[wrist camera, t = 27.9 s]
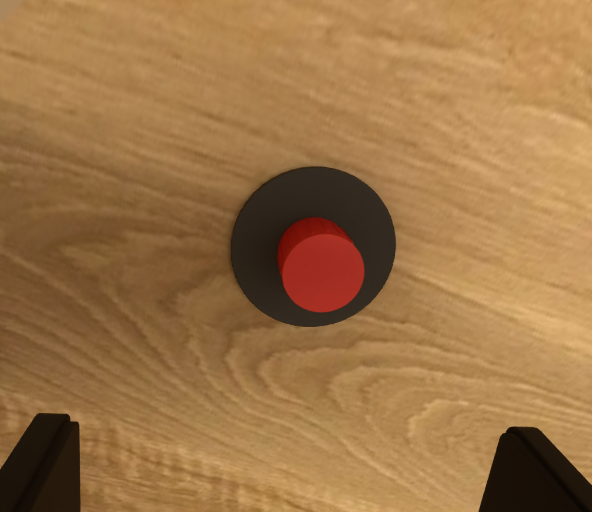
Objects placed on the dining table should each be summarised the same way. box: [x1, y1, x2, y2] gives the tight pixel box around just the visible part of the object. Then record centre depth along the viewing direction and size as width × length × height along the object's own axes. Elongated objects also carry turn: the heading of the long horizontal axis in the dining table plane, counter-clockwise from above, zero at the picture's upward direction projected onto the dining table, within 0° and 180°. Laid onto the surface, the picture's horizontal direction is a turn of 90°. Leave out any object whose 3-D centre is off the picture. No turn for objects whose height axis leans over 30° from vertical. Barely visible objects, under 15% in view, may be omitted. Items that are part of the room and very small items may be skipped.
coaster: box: [231, 167, 396, 327], centre depth 26 cm, size 9×9×1 cm
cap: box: [277, 217, 364, 312], centre depth 24 cm, size 4×4×4 cm
